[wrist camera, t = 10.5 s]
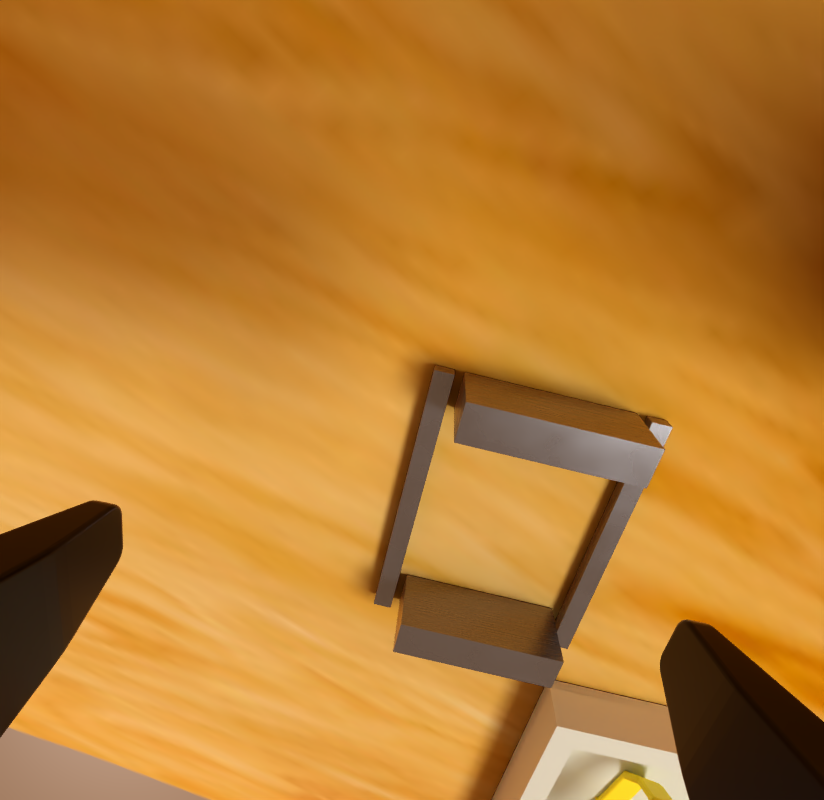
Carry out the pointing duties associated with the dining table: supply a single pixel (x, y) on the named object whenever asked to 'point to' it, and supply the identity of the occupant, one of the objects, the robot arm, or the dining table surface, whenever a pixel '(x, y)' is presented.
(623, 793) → the watch
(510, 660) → the grey rectangular open frame
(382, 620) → the dining table surface
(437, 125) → the dining table surface
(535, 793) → the parts tray
